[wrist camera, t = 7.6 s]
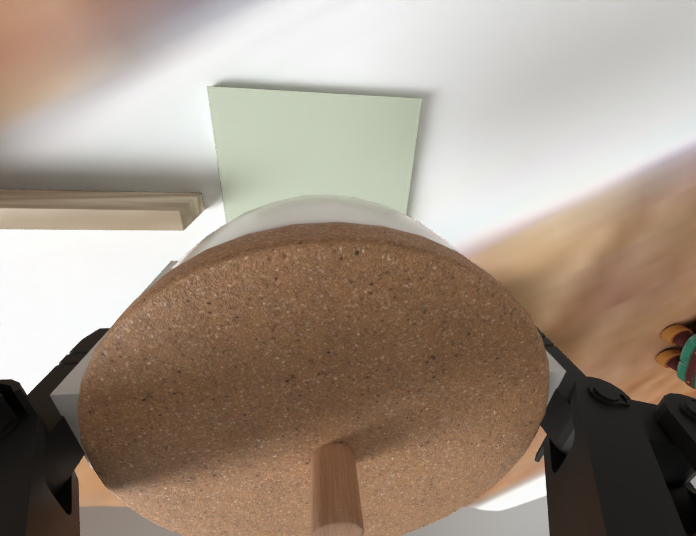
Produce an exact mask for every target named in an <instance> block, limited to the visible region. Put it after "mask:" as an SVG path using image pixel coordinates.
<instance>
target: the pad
mask: <svg viewBox="0 0 696 536" xmlns="http://www.w3.org/2000/svg"><path fill="white" fill-rule="evenodd" d="M207 91H208V98H209V105H210V112H211V119H212V126H213V133H214V140H215V147H216V154H217V161H218V168H219V175H220V182H221V189H222V196H223V203H224V210H225V217H226V223H228V222H229V221H231V220H233V219H235V218H236V217H238V216H240V215H241V214H243V213H245V212H248V211H250V210H253V209H255V208H258V207H261V206H263V205H266V204H269V203H271V202H274V201H278V200H282V199H287V198H292V197H297V196H302V195H319V194H332V195H342V196H351V197H357V198H361V199H364V200H368V201H372V202H375V203H379V204H383V205H386V206H388V207H390V208H392V209H395V210H397V211H399V212H401V213H403V214H405V215H406V212H407V205H408V197H409V190H410V183H411V176H412V169H413V161H414V154H415V147H416V140H417V133H418V125H419V118H420V111H421V104H422V99H420V98H403V97H386V96H368V95H351V94H333V93H316V92H299V91H281V90H264V89H247V88H229V87H212V86H207Z"/></svg>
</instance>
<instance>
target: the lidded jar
mask: <svg viewBox="0 0 696 536" xmlns="http://www.w3.org/2000/svg"><path fill="white" fill-rule="evenodd" d="M548 396H549V361H548V357H547V354H546V350H545V347H544V343H543V340H542V337H541V335H540V333H539V331H538V330H537V328H536V326H535V324H534V323H533V321H532V319H531V317H530V316H529V314H528V312H527V311H526V310H525V309H524V308H523V307H522V306H521V305H520V304H519V303H518V302H517V301H516V300H515V299H514V298H513V297H512V296H511V294H510V293H509V292H508V291H507V290H506V289H505V288H504V287H503V286H502V285H501V284H500V283H499V282H498V281H497V280H496V279H494V278H493V277H492V276H491V275H490V274H489V273H487V272H486V271H485V270H483V269H482V268H480V267H479V266H477V265H476V264H474V263H473V262H472V261H470V260H469V259H467V258H466V257H464V256H463V255H462V254H461V253H460V252H458V251H457V250H456V249H455V248H454V247H453V246H452V245H450V244H449V243H448V242H447V241H446V240H445V239H443V238H442V237H440V236H439V235H437V234H436V233H435V232H433V231H432V230H430V229H429V228H427V227H426V226H425V225H423V224H422V223H420V222H418V221H416V220H415V219H413V218H411V217H410V216H408V215H405V214H403V213H401V212H399V211H397V210H395V209H392V208H390V207H388V206H386V205H383V204H379V203H375V202H372V201H368V200H364V199H361V198H357V197H351V196H342V195H332V194H319V195H302V196H297V197H292V198H287V199H282V200H278V201H274V202H271V203H269V204H266V205H263V206H261V207H258V208H255V209H253V210H250V211H248V212H245V213H243V214H241V215H240V216H238V217H236V218H235V219H233V220H231V221H229V222H228V223H226V224H224V225H223V226H221V227H219V228H218V229H217V230H215V231H214V232H212V233H211V234H209V235H208V236H207V237H205V238H204V239H203V240H202V241H201V242H200V243H198V244H197V245H196V246H195V247H194V248H193V249H191V250H190V251H189V252H188V253H187V254H186V255H184V256H183V257H182V258H181V259H180V260H179V261H178V262H177V263H176V264H175V265H174V266H173V267H172V268H171V269H170V270H169V271H168V272H167V273H166V274H165V275H164V276H163V277H162V278H160V279H159V280H158V281H157V282H156V283H155V284H153V285H152V286H151V287H150V288H149V289H147V290H146V291H145V292H144V293H143V294H142V295H140V296H139V297H138V298H137V299H136V300H135V301H134V302H133V303H132V304H131V305H130V306H129V307H128V308H127V309H126V310H125V311H124V313H123V314H122V315H121V316H120V317H119V318H118V320H117V321H116V322H115V323H114V325H113V326H112V327H111V329H110V330H109V331H108V333H107V334H106V335H105V336H104V338H103V339H102V340H101V342H100V343H99V344H98V346H97V347H96V348H95V349H94V352H93V354H92V356H91V358H90V361H89V363H88V365H87V368H86V370H85V372H84V374H83V377H82V379H81V384H80V391H79V398H78V405H77V413H78V422H79V431H80V440H81V444H82V446H83V448H84V450H85V453H86V455H87V457H88V459H89V462H90V464H91V466H92V468H93V469H94V470H95V472H96V473H97V475H98V476H99V478H100V479H101V481H102V482H103V484H104V485H105V487H107V488H108V489H109V490H110V491H111V492H112V493H113V494H114V495H115V496H116V497H118V498H119V499H120V500H121V501H122V502H123V503H124V504H125V505H127V506H128V507H130V508H131V509H133V510H134V511H135V512H137V513H138V514H140V515H141V516H143V517H144V518H145V519H147V520H149V521H151V522H153V523H155V524H158V525H160V526H162V527H164V528H166V529H168V530H170V531H173V532H175V533H178V534H181V535H183V536H400V535H403V534H406V533H408V532H411V531H413V530H416V529H418V528H421V527H424V526H426V525H428V524H430V523H432V522H435V521H437V520H439V519H441V518H444V517H446V516H448V515H450V514H451V513H453V512H455V511H456V510H458V509H460V508H461V507H463V506H465V505H467V504H468V503H470V502H471V501H473V500H474V499H476V498H477V497H478V496H480V495H481V494H483V493H484V492H486V491H487V490H488V489H490V488H491V487H492V486H493V485H494V484H495V483H497V482H498V481H499V480H500V479H501V478H502V477H503V476H504V475H505V474H506V473H507V472H508V471H509V470H510V469H511V468H512V467H513V466H514V465H515V464H516V463H517V461H518V460H519V459H520V458H521V457H522V456H523V455H524V453H525V452H526V450H527V448H528V447H529V445H530V444H531V442H532V440H533V439H534V437H535V435H536V433H537V431H538V429H539V427H540V424H541V422H542V420H543V418H544V415H545V412H546V407H547V401H548Z"/></svg>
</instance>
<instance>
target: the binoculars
mask: <svg viewBox="0 0 696 536" xmlns="http://www.w3.org/2000/svg"><path fill="white" fill-rule="evenodd" d="M693 334H694V335H693ZM661 338H662V339H663V340H664V341H666V342H668V343H669V344H671V345H679V346H681V347H683V349H682V352H680V351H679V350H667V351H664V352H662V353H660V354H659V355H658V356H657V358H656V361H657V362H658V363H659V364H661V365H662V366H664V367H665V368H672V369H674V370H675V371H677V376H678V378H679V379H681V380H682V381H684V382H685V383H686V384H687V385H689V386H690V387H692V388H693V389H696V325H695V326H694V327H691V328H689V329H688V328H686V327H685V326H682V325H673V326H670V327H668V328H667V329H665V330H664V331H663V332H662V334H661Z"/></svg>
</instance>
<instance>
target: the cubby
mask: <svg viewBox="0 0 696 536" xmlns="http://www.w3.org/2000/svg"><path fill="white" fill-rule="evenodd" d="M203 211H204V206H203V200H202V194H201V193H165V192H116V191H67V190H18V189H0V229H52V230H184V229H186V228H187V227H188V226H189V225H190V224H191V223H192V222H193V221H194V220H195V219H196V218H197V217H198V216H199V215H200V214H201V213H202V212H203Z"/></svg>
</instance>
